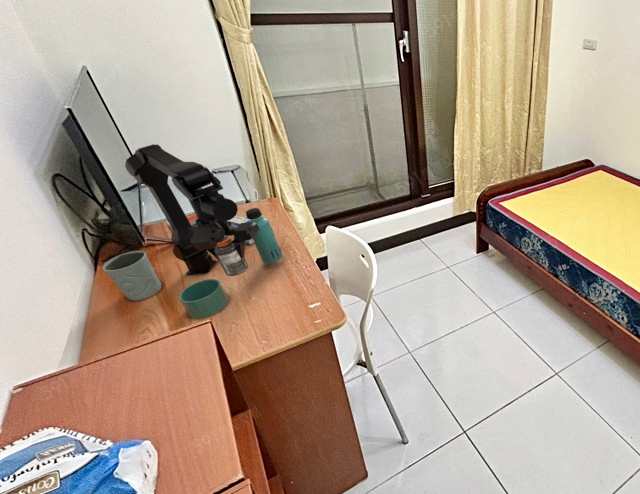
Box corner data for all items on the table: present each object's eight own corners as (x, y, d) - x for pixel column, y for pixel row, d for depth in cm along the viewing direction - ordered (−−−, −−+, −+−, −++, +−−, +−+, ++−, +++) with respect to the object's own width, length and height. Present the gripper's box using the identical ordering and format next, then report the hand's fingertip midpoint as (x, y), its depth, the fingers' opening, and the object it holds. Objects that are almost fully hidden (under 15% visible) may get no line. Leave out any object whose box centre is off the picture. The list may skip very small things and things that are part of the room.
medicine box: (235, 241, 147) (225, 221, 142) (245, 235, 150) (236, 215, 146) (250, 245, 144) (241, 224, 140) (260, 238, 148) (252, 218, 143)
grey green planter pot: (132, 306, 118) (109, 274, 112) (118, 295, 123) (96, 264, 116) (170, 287, 125) (151, 256, 119) (156, 277, 130) (137, 246, 124)
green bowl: (181, 319, 113) (171, 303, 109) (200, 296, 121) (191, 280, 118) (218, 316, 113) (209, 300, 110) (234, 293, 122) (226, 277, 118)
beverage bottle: (276, 268, 131) (254, 216, 121) (259, 266, 133) (235, 214, 122) (289, 257, 137) (268, 205, 126) (272, 255, 138) (250, 204, 127)
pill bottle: (232, 265, 120) (216, 233, 114) (252, 263, 121) (237, 232, 114) (222, 277, 115) (205, 245, 109) (243, 276, 116) (227, 243, 109)
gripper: (153, 230, 100) (181, 278, 108) (230, 223, 101) (253, 272, 109) (178, 208, 109) (203, 254, 117) (249, 203, 110) (268, 249, 119)
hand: (231, 258), depth 115 cm, fingers closed on pill bottle, 6 cm apart
